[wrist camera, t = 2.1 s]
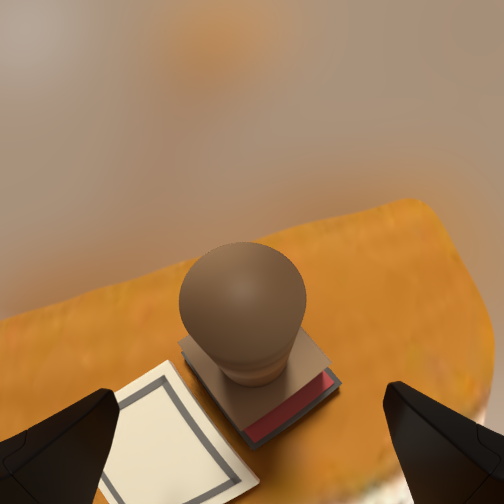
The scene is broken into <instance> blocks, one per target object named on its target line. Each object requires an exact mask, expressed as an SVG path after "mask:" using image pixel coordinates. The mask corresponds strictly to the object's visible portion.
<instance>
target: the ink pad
mask: <svg viewBox="0 0 504 504" xmlns="http://www.w3.org/2000/svg"><path fill="white" fill-rule="evenodd" d="M181 353H182V355H183V356H184V358H185V360H186V361H187V363H188V364H189V366H190V367H191V369H192V370H193V372H194V373H195V375H196V376H197V377H198V379H199V380H200V382H201V383H202V385H203V386H204V388H205V389H206V390H207V392H208V393H209V395H210V396H211V397H212V399H213V400H214V401H215V403H216V404H217V406H218V407H219V408H220V410H221V411H222V412H223V414H224V415H225V416H226V418H227V419H228V420H229V421H230V423H231V424H232V425H233V427H234V428H235V429H236V430H237V432H238V433H239V434H240V436H241V437H242V438H243V439H244V440H245V442H246V443H247V444H248V445H249V447H250V448H251V449H252V450H253V451H254V450H256V449H257V448H259V447H260V446H262V445H263V444H265V443H266V442H268V441H269V440H270V439H272V438H273V437H275V436H276V435H278V434H279V433H280V432H282V431H283V430H285V429H286V428H287V427H289V426H290V425H291V424H293V423H294V422H295V421H297V420H298V419H299V418H301V417H302V416H303V415H305V414H306V413H307V412H308V411H310V410H311V409H312V408H313V407H315V406H316V405H317V404H318V403H320V402H321V401H322V400H323V399H324V398H326V397H327V396H328V395H329V394H330V393H332V392H333V391H334V390H335V389H336V388H337V387H339V386H340V385H341V384H342V382H341V381H340V380H339V379H338V378H337V377H336V376H335V374H334V373H333V372H332V371H331V370H330V369H329V368H328V367H327V368H325V369H324V370H323V371H322V372H321V373H319V374H318V375H317V376H316V377H315V378H313V379H312V380H311V381H310V382H308V383H307V384H306V385H305V386H303V387H302V388H301V389H299V390H298V391H297V392H296V393H294V394H293V395H292V396H290V397H289V398H288V399H286V400H285V401H284V402H282V403H281V404H280V405H278V406H277V407H276V408H274V409H273V410H271V411H270V412H269V413H267V414H266V415H264V416H263V417H262V418H260V419H259V420H257V421H256V422H254V423H253V424H251V425H250V426H248V427H247V428H245V429H244V430H242V431H240V430H239V428H238V427H237V426H236V425H235V423H234V422H233V421H232V419H231V418H230V417H229V416H228V414H227V413H226V412H225V410H224V409H223V408H222V406H221V405H220V404H219V402H218V401H217V400H216V398H215V397H214V395H213V394H212V393H211V391H210V390H209V388H208V387H207V386H206V384H205V383H204V381H203V380H202V378H201V377H200V376H199V374H198V373H197V371H196V370H195V368H194V367H193V365H192V364H191V362H190V361H189V359H188V358H187V356H186V355H185V353H184V352H183V351H182V352H181Z"/></svg>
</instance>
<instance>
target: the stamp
mask: <svg viewBox="0 0 504 504" xmlns="http://www.w3.org/2000/svg"><path fill="white" fill-rule="evenodd" d="M305 308H306V290H305V285H304V282H303V279H302V277H301V275H300V273H299V271H298V270H297V268H296V267H295V266H294V264H293V263H292V262H291V261H290V260H289V259H288V258H287V257H286V256H284V255H283V254H282V253H280V252H279V251H277V250H275V249H273V248H271V247H268V246H265V245H262V244H258V243H251V242H239V243H232V244H227V245H223V246H220V247H218V248H216V249H213V250H212V251H210V252H208V253H207V254H205V255H204V256H202V257H201V258H200V259H199V260H198V261H197V262H196V263H195V264H194V265H193V266H192V267H191V268H190V270H189V271H188V273H187V275H186V277H185V279H184V281H183V283H182V286H181V290H180V295H179V310H180V315H181V319H182V321H183V324H184V326H185V328H186V330H187V332H188V333H189V335H188V336H186V337H185V338H183V339H182V340H180V341H179V342H178V344H179V345H180V347H181V349H182V350H183V352H184V353H185V355H186V356H187V358H188V359H189V361H190V362H191V364H192V365H193V367H194V368H195V370H196V371H197V373H198V374H199V376H200V377H201V378H202V380H203V381H204V383H205V384H206V386H207V387H208V388H209V390H210V391H211V393H212V394H213V395H214V397H215V398H216V400H217V401H218V402H219V404H220V405H221V406H222V408H223V409H224V410H225V412H226V413H227V414H228V416H229V417H230V418H231V419H232V421H233V422H234V423H235V425H236V426H237V427H238V428H239V430H240V431H242V430H244V429H245V428H247V427H248V426H250V425H251V424H253V423H254V422H256V421H257V420H259V419H260V418H262V417H263V416H264V415H266V414H267V413H269V412H270V411H271V410H273V409H274V408H276V407H277V406H278V405H280V404H281V403H282V402H284V401H285V400H286V399H288V398H289V397H290V396H292V395H293V394H294V393H296V392H297V391H298V390H299V389H301V388H302V387H303V386H305V385H306V384H307V383H308V382H310V381H311V380H312V379H313V378H315V377H316V376H317V375H318V374H319V373H321V372H322V371H323V370H324V369H325V368H327V367H328V366H329V365H330V364H331V363H332V362H331V360H330V359H329V358H328V357H327V356H326V355H325V354H324V352H323V351H322V350H321V349H320V348H319V347H318V346H317V344H316V343H315V342H314V341H313V340H312V339H311V338H310V336H309V335H308V334H307V333H306V332H305V331H304V329H303V328H302V327H301V326H300V325H301V323H302V320H303V316H304V313H305Z"/></svg>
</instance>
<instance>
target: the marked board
mask: <svg viewBox="0 0 504 504" xmlns="http://www.w3.org/2000/svg"><path fill="white" fill-rule="evenodd" d="M114 394H115V397H116V399H117V402H118V404H119V407H120V414H119V418H118V422H117V426H116V430H115V435H114V439H113V443H112V447H111V450H110V453H109V456H108V459H107V461H106V464H105V467H104V470H103V473H102V476H101V479H100V482H99V485H98V487H99V489H100V490H101V492H102V493H103V495H104V496H105V498H106V499H107V501H108V502H109V504H224V503H226V502H227V501H229V500H231V499H233V498H235V497H237V496H238V495H240V494H242V493H244V492H245V491H247V490H249V489H251V488H252V487H254V486H256V485H257V484H259V483H260V479H259V478H258V477H257V476H256V475H255V474H254V473H253V471H252V470H251V469H250V468H249V467H248V466H247V464H246V463H245V462H244V461H243V460H242V458H241V457H240V456H239V455H238V454H237V452H236V451H235V450H234V449H233V447H232V446H231V445H230V444H229V442H228V441H227V440H226V439H225V437H224V436H223V435H222V433H221V432H220V431H219V429H218V428H217V427H216V425H215V424H214V423H213V421H212V420H211V419H210V417H209V416H208V415H207V413H206V412H205V411H204V409H203V408H202V406H201V405H200V403H199V402H198V401H197V399H196V398H195V396H194V395H193V393H192V392H191V390H190V389H189V388H188V386H187V385H186V383H185V382H184V380H183V378H182V377H181V375H180V374H179V372H178V371H177V369H176V368H175V366H174V365H173V363H172V362H171V361H169V360H166V361H165V362H163V363H162V364H160V365H159V366H157V367H155V368H154V369H152V370H151V371H149V372H148V373H146V374H144V375H143V376H141V377H140V378H138V379H136V380H135V381H133V382H132V383H130V384H128V385H127V386H125V387H123V388H122V389H120V390H118V391H117V392H115V393H114Z"/></svg>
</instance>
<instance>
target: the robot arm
mask: <svg viewBox="0 0 504 504" xmlns="http://www.w3.org/2000/svg"><path fill="white" fill-rule="evenodd" d="M383 409H384V412H385V416H386V420H387V424H388V428H389V432H390V436H391V440H392V443H393V446H394V449H395V452H396V454H397V457H398V459H399V462H400V465H401V467H402V470H403V473H404V476H405V478H406V481H407V484H408V487H409V490H410V493H411V495H412V498H413V501H414V504H504V436H503V435H501V434H499V433H496V432H494V431H492V430H490V429H488V428H486V427H484V426H482V425H480V424H476V422H474V421H472V420H470V419H468V418H467V417H465V416H463V415H461V414H459V413H457V412H455V411H454V410H452V409H450V408H448V407H446V406H444V405H442V404H441V403H439V402H437V401H435V400H433V399H432V398H430V397H428V396H426V395H424V394H423V393H421V392H419V391H417V390H415V389H414V388H412V387H410V386H408V385H407V384H405V383H403V382H401V381H396V382H391V383H389V384H388V385H387V388H386V392H385V396H384V399H383ZM119 414H120V407H119V404H118V402H117V399H116V397H115V394H114V392H113V391H112V390H111V389H105V388H100V389H99V390H97V391H95V392H93V393H92V394H90V395H88V396H86V397H85V398H83V399H81V400H79V401H78V402H76V403H74V404H72V405H71V406H69V407H67V408H65V409H63V410H62V411H60V412H58V413H56V414H54V415H53V416H51V417H49V418H47V419H45V420H43V421H42V422H40V423H38V424H36V425H34V426H32V427H30V428H29V429H28V430H25V431H23V432H21V433H19V434H17V435H15V436H13V437H11V438H9V439H6V440H4V441H2V442H0V504H92V503H93V500H94V497H95V494H96V491H97V488H98V485H99V482H100V479H101V476H102V473H103V470H104V467H105V464H106V461H107V459H108V456H109V453H110V450H111V447H112V443H113V439H114V435H115V430H116V426H117V422H118V418H119Z"/></svg>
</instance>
